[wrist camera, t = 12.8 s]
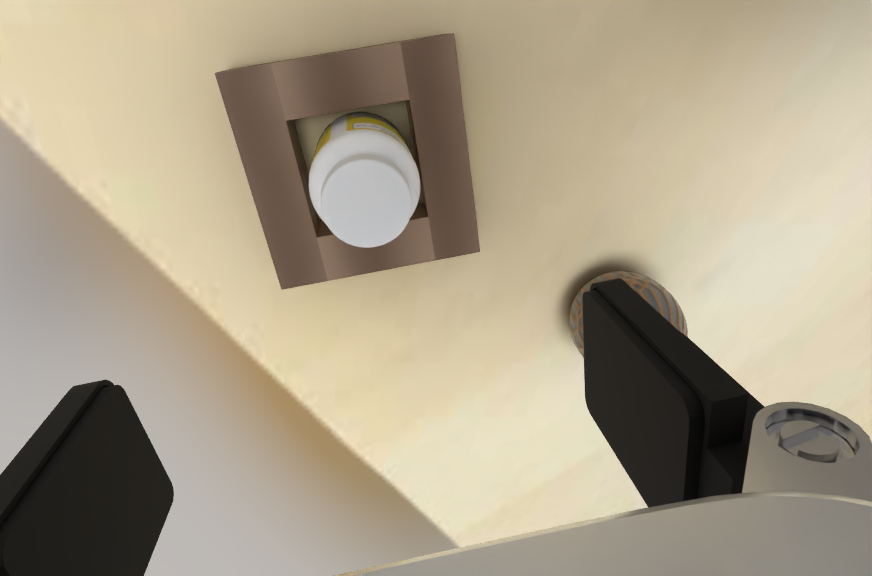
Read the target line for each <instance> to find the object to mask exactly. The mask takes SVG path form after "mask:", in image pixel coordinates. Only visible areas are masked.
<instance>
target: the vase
mask: <svg viewBox="0 0 872 576" xmlns="http://www.w3.org/2000/svg"><path fill="white" fill-rule="evenodd" d="M617 278H621V279H622V280H624V281H625V282H626V283H627V284H628V285H629V286H630V287H631V288H632V289H633V290H635V291H636V292H637V293H638V294H639V295H640V296H641V297H642V298H643V299H644V300H646V301H647V302H648V303H649V304H650V305H651V306H652V307H653V308H654V309H655V310H657V311H658V312H659V313H660V314H661V315H662V316H663V317H664V318H665V319H666V320H668V321H669V322H670V323H671V324H672V325H673V326H674V327H675V328H676V329H677V330H679V331H680V332H681V333H683V334H684V335H686V336H687V337H688V331H687V324H686V320H685V317H684V315H683V312H682V310H681V308H680V306H679V305H678V303H677V301H676V300H675V299H674V297H673V296H672V295H671V294H670V293H669V292H668V291H667V290H666V289H665V288H664V287H662V286H661V285H660V284H658V283H657V282H655V281H654V280H652V279H650V278H648V277H646V276H643V275H641V274H638V273H633V272H628V271H614V272H608V273H605V274H602V275H599V276H597V277H595V278H594V279H592V280H591V281H589V282H588V283H587V284H585V285H584V286H583V287H582V288H581V290H580V291H579V292H578V294H577V295H576V297H575V299H574V301H573V303H572V306H571V310H570V319H569V321H570V330H571V334H572V338H573V341H574V343H575V345H576V347H577V349H578V350H579V352H580V353H581V355H582V356H583V358H584V340H583V306H582V296H583V293H584V292H587V291H590V287H591V285H592V283H597V282H602V281H607V280H612V279H617Z"/></svg>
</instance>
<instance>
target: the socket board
mask: <svg viewBox="0 0 872 576" xmlns="http://www.w3.org/2000/svg"><path fill="white" fill-rule="evenodd" d="M215 75H216V79H217V82H218V85H219V88H220V92H221V95H222V98H223V101H224V104H225V108H226V111H227V114H228V117H229V121H230V124H231V127H232V130H233V134H234V137H235V140H236V143H237V147H238V150H239V153H240V156H241V160H242V163H243V166H244V169H245V172H246V176H247V179H248V182H249V185H250V189H251V192H252V195H253V198H254V202H255V205H256V208H257V211H258V215H259V218H260V221H261V224H262V228H263V231H264V234H265V237H266V240H267V244H268V247H269V250H270V253H271V257H272V260H273V263H274V266H275V270H276V273H277V276H278V279H279V283H280V286H281V289H287V288H293V287H298V286H303V285H308V284H313V283H319V282H324V281H329V280H334V279H340V278H345V277H350V276H355V275H361V274H366V273H371V272H376V271H382V270H387V269H392V268H397V267H402V266H408V265H413V264H418V263H423V262H429V261H434V260H439V259H444V258H450V257H455V256H460V255H465V254H471V253H476V252H480V247H479V239H478V231H477V222H476V214H475V205H474V197H473V189H472V180H471V172H470V163H469V155H468V147H467V138H466V130H465V121H464V113H463V105H462V96H461V88H460V79H459V71H458V63H457V54H456V46H455V37H454V33H453V34H441V35H435V36H429V37H423V38H417V39H411V40H405V41H399V42H393V43H387V44H381V45H375V46H369V47H363V48H357V49H351V50H345V51H339V52H332V53H326V54H320V55H314V56H308V57H302V58H296V59H290V60H284V61H278V62H272V63H266V64H260V65H254V66H248V67H242V68H236V69H230V70H225V71H221V72H217V73H215ZM404 100H406V105H407V111H408V117H409V123H410V129H411V135H412V141H413V148H414V154H415V160H416V166H417V168H418V172H419V177H420V190H421V196H422V203H418V204H417V207H416V209H415V211H414V213H413V215H412V216H411V218H410V219H409V222H408V224H407V225H406V227H405V229H404V230H403V231H402V232H401V234H400V235H398V236H397V237H396V238H395V239H394V240H392V241H390V242H388V243H386V244H384V245H381V246H377V247H371V248H364V247H357V246H353V245H350V244H347V243H346V242H344V241H342V240H340V239H339V238H338V237H337V236H335V235H334V234H333V233H332V232H331V230H330V229H329V228H328V226H327V225H326V224H325V223H324V221H320V220H319V217H318V214H317V212H316V210H315V208H314V206H313V204H312V201H311V198H310V193H309V178H308V174H307V170H306V166H305V162H304V158H303V154H302V150H301V147H300V143H299V139H298V135H297V131H296V127H295V123H294V119H300V118H305V117H311V116H317V115H323V114H329V113H334V112H340V111H346V110H352V109H358V108H363V107H369V106H375V105H381V104H387V103H393V102H398V101H404Z"/></svg>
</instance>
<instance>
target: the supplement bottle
mask: <svg viewBox="0 0 872 576" xmlns="http://www.w3.org/2000/svg"><path fill="white" fill-rule="evenodd" d="M309 193H310V198H311V201H312V204H313V206H314V208H315V210H316V212H317V214H318V215H319V216H320V218H321V219H322V220H323V221H324V223H325V224H326V225H327V226H328V228H329V229H330V230H331V232H332V233H333V234H334V235H335V236H337V237H338V238H339V239H340V240H342V241H344V242H346V243H347V244H350V245H353V246H357V247H364V248H371V247H377V246H381V245H384V244H386V243H388V242H390V241H392V240H394V239H395V238H396V237H397V236H398V235H400V234H401V232H402V231H403V230H404V229H405V227H406V225H407V224H408V222H409V219H410V218H411V216H412V215H413V213H414V211H415V209H416V207H417V204H418V201H419V196H420V177H419V172H418V168H417V166H416V163H415V161H414V159H413V157H412V155H411V153H410V151H409V149H408V147H407V145H406V143H405V141H404V139H403V138H402V136H401V134H400V133H399V132H398V130H397V129H396V128H395V127H394V126H393V125H392V124H391V123H390V122H388V121H387V120H386V119H384V118H382V117H380V116H378V115H375V114H371V113H366V112H355V113H350V114H346V115H344V116H341V117H339V118H338V119H336V120H335V121H333V122H332V123H331V124H330V125H329V126H328V127H327V128H326V129H325V131H324V132H323V134H322V135H321V137H320V139H319V141H318V144H317V148H316V151H315V155H314V158H313V161H312V165H311V168H310V173H309Z"/></svg>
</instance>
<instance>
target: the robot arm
mask: <svg viewBox="0 0 872 576" xmlns="http://www.w3.org/2000/svg"><path fill="white" fill-rule="evenodd" d="M582 306H583V340H584V374H585V399H586V404H587V407H588V410H589V412H590V414H591V416H592V417H593V419H594V421H595V422H596V424H597V425H598V427H599V429H600V430H601V432H602V433H603V435H604V437H605V438H606V440H607V441H608V443H609V445H610V446H611V448H612V450H613V451H614V453H615V454H616V456H617V458H618V459H619V461H620V462H621V464H622V466H623V467H624V469H625V470H626V472H627V474H628V475H629V477H630V478H631V480H632V482H633V483H634V485H635V487H636V488H637V490H638V491H639V493H640V495H641V496H642V498H643V499H644V501H645V503H646V504H647V506H648V507H649V508H643V509H638V510H633V511H628V512H624V513H619V514H615V515H610V516H606V517H601V518H596V519H591V520H586V521H581V522H576V523H571V524H567V525H562V526H557V527H553V528H548V529H544V530H539V531H535V532H530V533H525V534H521V535H516V536H512V537H507V538H502V539H498V540H493V541H489V542H484V543H480V544H475V545H470V546H466V547H461V548H457V549H452V550H447V551H443V552H439V553H434V554H429V555H425V556H420V557H416V558H411V559H407V560H402V561H398V562H394V563H389V564H384V565H380V566H375V567H371V568H366V569H362V570H357V571H353V572H348V573H344V574H340V575H335V576H872V443H871V440H870V438H869V436H868V435H867V434H866V433H865V432H864V430H863V429H862V428H861V427H860V426H859V425H857V424H856V423H854V422H853V421H851V420H850V419H849V418H847V417H846V416H844V415H841V414H839V413H837V412H835V411H833V410H830V409H828V408H824V407H820V406H817V405H813V404H808V403H800V402H781V403H776V404H772V405H769V406H766V407H764V406H763V405H762V404H761V403H760V402H758V401H757V400H756V399H755V398H754V397H753V396H752V395H751V394H750V393H749V392H747V391H746V390H745V389H744V388H743V387H742V386H741V385H740V384H739V383H737V382H736V381H735V380H734V379H733V378H732V377H731V376H730V375H729V374H728V373H726V372H725V371H724V370H723V369H722V368H721V367H720V366H719V365H718V364H716V363H715V362H714V361H713V360H712V359H711V358H710V357H709V356H708V355H707V354H705V353H704V352H703V351H702V350H701V349H700V348H699V347H698V346H697V345H696V344H694V343H693V342H692V341H691V340H690V339H689V338H688V337H687V336H686V335H684V334H683V333H681V332H680V331H679V330H677V329H676V328H675V327H674V326H673V325H672V324H671V323H670V322H669V321H668V320H666V319H665V318H664V317H663V316H662V315H661V314H660V313H659V312H658V311H657V310H655V309H654V308H653V307H652V306H651V305H650V304H649V303H648V302H647V301H646V300H644V299H643V298H642V297H641V296H640V295H639V294H638V293H637V292H636V291H635V290H633V289H632V288H631V287H630V286H629V285H628V284H627V283H626V282H625V281H624V280H622V279H621V278H617V279H612V280H607V281H602V282H597V283H592V285H591V287H590V291H587V292H584V293H583V296H582ZM173 496H174V492H173V486H172V483H171V481H170V479H169V477H168V475H167V473H166V471H165V469H164V467H163V465H162V463H161V461H160V459H159V457H158V455H157V454H156V451H155V449H154V447H153V445H152V443H151V441H150V439H149V438H148V435H147V433H146V432H145V430H144V428H143V426H142V424H141V422H140V420H139V418H138V416H137V414H136V412H135V410H134V408H133V406H132V404H131V402H130V400H129V398H128V396H127V394H126V392H125V391H124V389H123V388H122V387H121V386H119V385H114V384H113V383H112V382H110V381H108V380H102V381H97V382H92V383H87V384H82V385H77V386H73V387H72V388H71V389H70V390H69V391H68V393H67V394H66V395H65V396H64V397H63V399H62V400H61V401H60V402H59V404H58V405H57V406H56V407H55V408H54V410H53V411H52V412H51V413H50V415H49V416H48V417H47V418H46V420H45V421H44V422H43V423H42V424H41V426H40V427H39V428H38V429H37V431H36V432H35V433H34V434H33V435H32V437H31V438H30V439H29V441H28V442H27V443H26V444H25V445H24V447H23V448H22V449H21V450H20V451H19V453H18V454H17V455H16V456H15V458H14V459H13V460H12V461H11V463H10V464H9V465H8V466H7V468H6V469H5V470H4V471H3V472H2V474H1V475H0V576H144V573H145V571H146V568H147V566H148V563H149V561H150V558H151V555H152V553H153V551H154V548H155V546H156V543H157V541H158V538H159V535H160V533H161V530H162V528H163V525H164V523H165V520H166V518H167V515H168V513H169V510H170V507H171V505H172V502H173Z"/></svg>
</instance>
